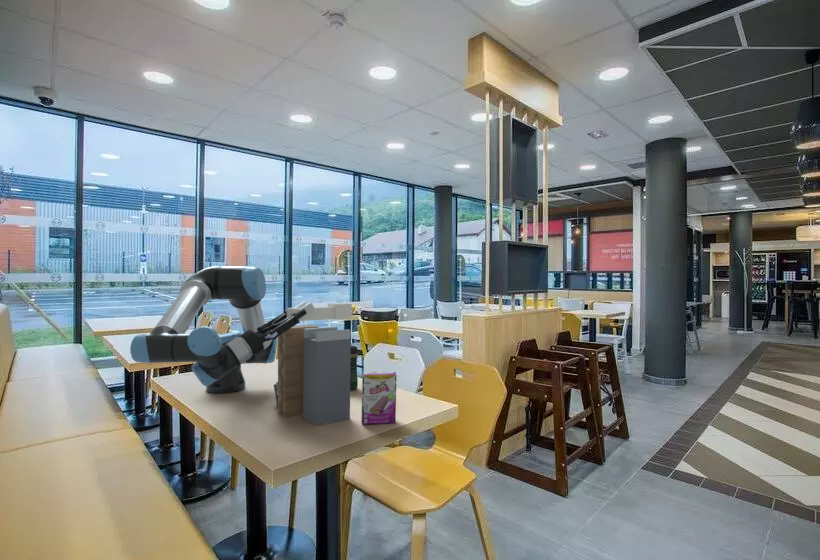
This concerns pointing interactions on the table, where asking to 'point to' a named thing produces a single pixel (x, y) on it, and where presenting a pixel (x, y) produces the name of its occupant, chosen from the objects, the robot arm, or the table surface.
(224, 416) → the table surface
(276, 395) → the electrical switch
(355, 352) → the coffee jar
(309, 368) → the socket block
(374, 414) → the candy bar box
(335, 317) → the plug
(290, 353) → the tall wooden block stack
